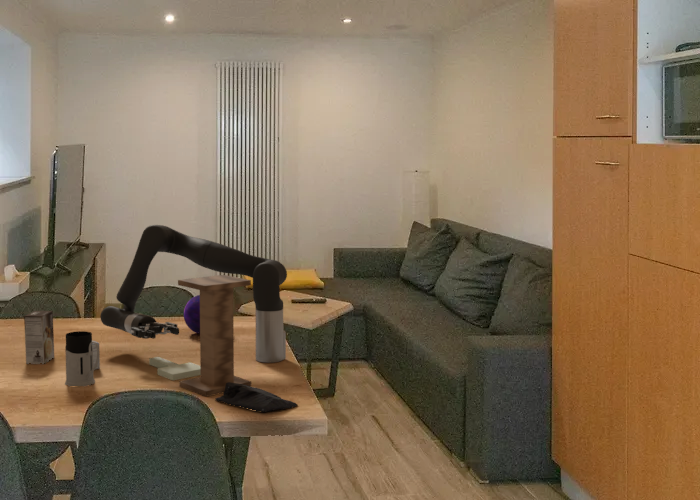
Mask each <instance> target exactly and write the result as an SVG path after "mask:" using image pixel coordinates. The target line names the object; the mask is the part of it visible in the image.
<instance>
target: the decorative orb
mask: <svg viewBox="0 0 700 500" xmlns="http://www.w3.org/2000/svg"><path fill="white" fill-rule="evenodd" d="M183 318H184V323H185V325H186V326H187V327H188V329H189V330H191V331H192V332H194V333H196V334H199V335H200V294H198V295H195V296H193V297H191V298H190V299H189V300H188V301H187V303H186V304H185V307H184V309H183Z"/></svg>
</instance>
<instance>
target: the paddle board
mask: <svg viewBox="0 0 700 500" xmlns="http://www.w3.org/2000/svg"><path fill="white" fill-rule="evenodd" d="M148 364H149V366H152V367H154V368H157V375H158V376H160V377H162V378H165V379H168V380H170V381H177V380H182V379H187V378H192V377H193V378H194V377H198V376H201V366H200V365H199V364H196V363H193V362H191V361H189V362H185V363H180V364H179V363H176V362H174V361H171V360H169V359H166V358H164V357H160V356H154V357H149V359H148Z"/></svg>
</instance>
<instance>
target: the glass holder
mask: <svg viewBox="0 0 700 500" xmlns="http://www.w3.org/2000/svg"><path fill="white" fill-rule="evenodd" d="M92 341H93V333H92V332H90V331H85V330H84V331H83V330H81V331H80V330H79V331H77V330H76V331H72V332H71V331H70V332H68V333H66V334H65V349H64V350H65V375H66V376H65V379H66V380H65V383H64V385H65V386H66V385H68V386H67V387H70V386H83V387H89V386H92V385H94V384H95V383H96V380H95V378H94V377H95V376H94V371H95V370H96V369H95V368H96V367H97V365H98V361H99V352H100V345H99V346H98V344H97V343H96V342H97V341H96V342H92ZM93 343H94V344H95V345H96V347H97V360H96V363H95V366H94V368H93V349H92V344H93ZM91 384H92V385H91ZM88 385H89V386H88Z"/></svg>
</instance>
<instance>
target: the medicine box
mask: <svg viewBox="0 0 700 500" xmlns="http://www.w3.org/2000/svg"><path fill="white" fill-rule="evenodd" d="M92 342H96V343H97V344H98V346H99V347H100V342H98V341H96V340H92ZM92 349H93V368H94V366H95V363H96V360H97V347H96V345H95V344H94V343H93V344H92ZM100 352H101V351H99V361H98V365H97V367H96V368H95V370H98V369H100V368H101V362H100V360H101V359H100Z"/></svg>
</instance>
